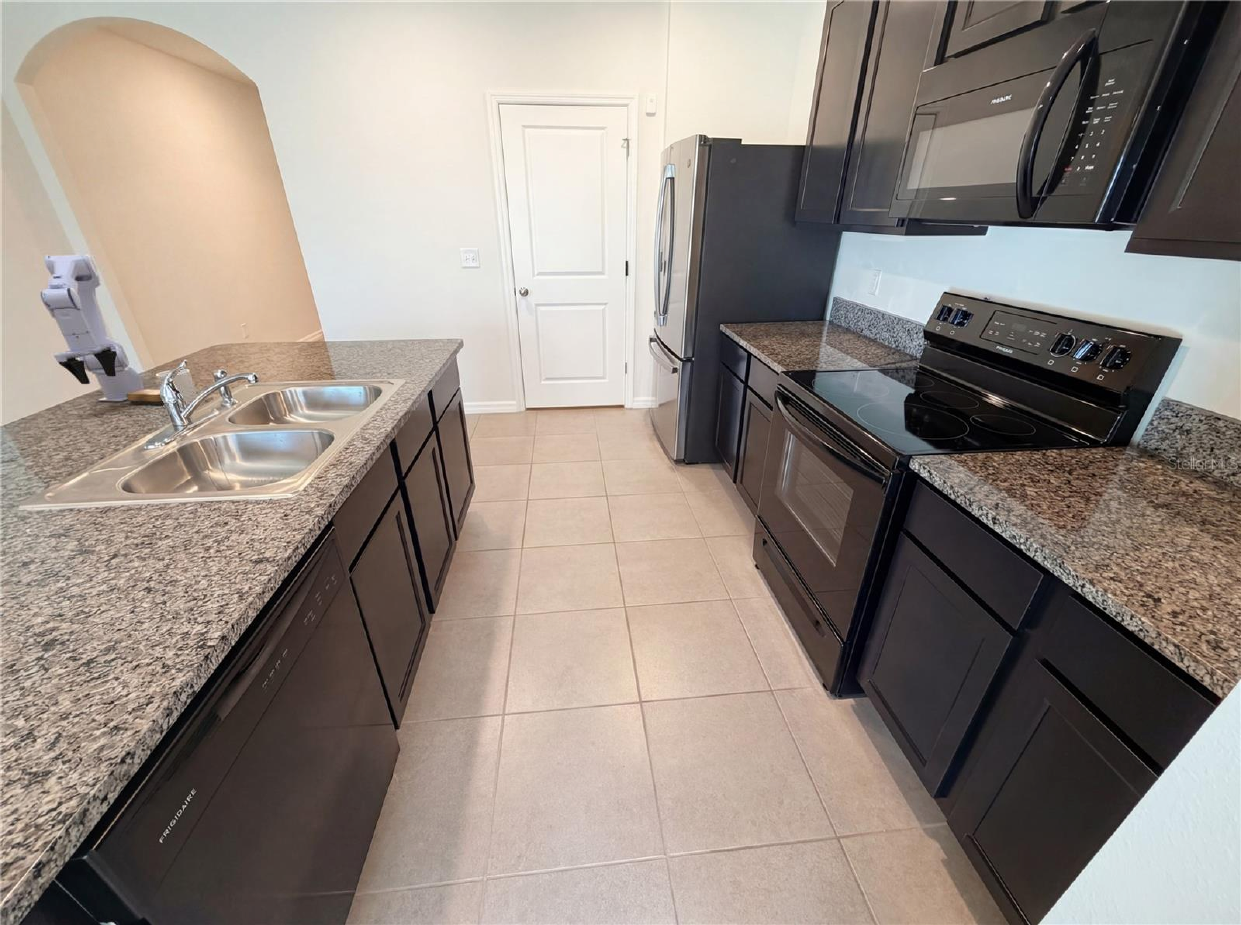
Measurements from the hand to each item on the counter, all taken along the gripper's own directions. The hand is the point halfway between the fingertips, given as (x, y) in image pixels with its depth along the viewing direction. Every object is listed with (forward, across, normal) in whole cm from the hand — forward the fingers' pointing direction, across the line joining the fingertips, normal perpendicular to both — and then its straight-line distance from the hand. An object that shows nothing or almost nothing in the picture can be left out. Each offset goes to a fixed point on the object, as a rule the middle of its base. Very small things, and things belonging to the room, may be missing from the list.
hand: (99, 379), depth 148 cm
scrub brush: (+9, +7, -6) cm, 13 cm away
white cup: (+10, +7, -17) cm, 21 cm away
